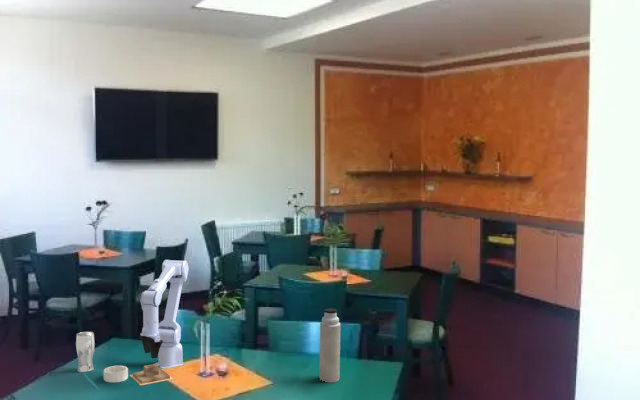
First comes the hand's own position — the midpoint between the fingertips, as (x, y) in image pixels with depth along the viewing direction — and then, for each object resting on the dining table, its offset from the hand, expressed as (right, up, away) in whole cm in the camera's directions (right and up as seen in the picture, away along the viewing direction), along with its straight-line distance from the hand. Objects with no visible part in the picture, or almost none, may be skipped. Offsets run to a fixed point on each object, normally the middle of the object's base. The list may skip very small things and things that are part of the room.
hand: (151, 355), depth 255 cm
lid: (0, -9, +1) cm, 9 cm away
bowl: (-13, -9, -1) cm, 16 cm away
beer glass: (-29, -8, +9) cm, 31 cm away
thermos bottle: (+70, -10, +3) cm, 71 cm away
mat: (0, -9, +1) cm, 9 cm away
